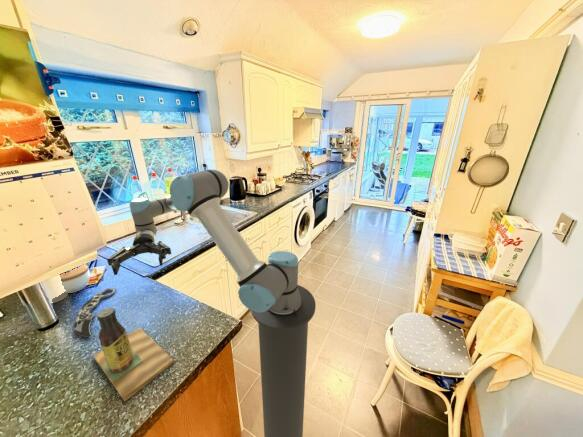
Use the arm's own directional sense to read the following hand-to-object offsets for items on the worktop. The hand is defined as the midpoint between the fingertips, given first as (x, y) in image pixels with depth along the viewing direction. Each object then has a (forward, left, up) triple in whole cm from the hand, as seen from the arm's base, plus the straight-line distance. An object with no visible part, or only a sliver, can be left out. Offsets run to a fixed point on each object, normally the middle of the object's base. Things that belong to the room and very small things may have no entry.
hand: (138, 266), depth 81 cm
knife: (+24, +11, -25) cm, 37 cm away
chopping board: (-11, +12, -25) cm, 30 cm away
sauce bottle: (-11, +14, -23) cm, 30 cm away
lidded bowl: (+49, +10, -25) cm, 56 cm away
